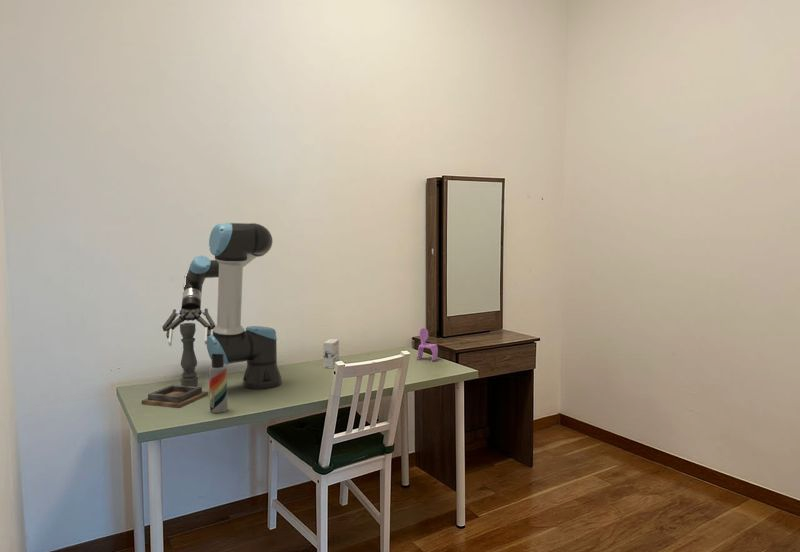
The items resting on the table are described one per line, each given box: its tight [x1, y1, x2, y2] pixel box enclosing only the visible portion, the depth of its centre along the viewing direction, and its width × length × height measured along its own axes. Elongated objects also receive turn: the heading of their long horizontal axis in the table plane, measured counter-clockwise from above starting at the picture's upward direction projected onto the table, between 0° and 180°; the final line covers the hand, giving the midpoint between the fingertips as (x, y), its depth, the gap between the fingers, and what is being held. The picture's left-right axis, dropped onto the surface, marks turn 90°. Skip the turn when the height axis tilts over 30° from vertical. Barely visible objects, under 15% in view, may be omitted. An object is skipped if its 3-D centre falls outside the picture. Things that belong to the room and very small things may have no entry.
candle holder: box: [179, 322, 199, 387], centre depth 219 cm, size 6×6×25 cm
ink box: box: [322, 338, 340, 369], centre depth 253 cm, size 9×5×12 cm, turn 168°
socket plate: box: [141, 384, 209, 409], centre depth 203 cm, size 16×16×3 cm
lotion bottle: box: [208, 354, 229, 414], centre depth 190 cm, size 6×6×20 cm
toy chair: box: [415, 327, 439, 362], centre depth 265 cm, size 8×9×15 cm
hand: (187, 343), depth 222 cm, fingers open, 13 cm apart
